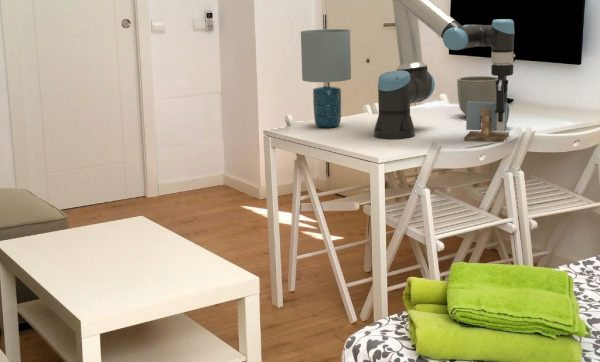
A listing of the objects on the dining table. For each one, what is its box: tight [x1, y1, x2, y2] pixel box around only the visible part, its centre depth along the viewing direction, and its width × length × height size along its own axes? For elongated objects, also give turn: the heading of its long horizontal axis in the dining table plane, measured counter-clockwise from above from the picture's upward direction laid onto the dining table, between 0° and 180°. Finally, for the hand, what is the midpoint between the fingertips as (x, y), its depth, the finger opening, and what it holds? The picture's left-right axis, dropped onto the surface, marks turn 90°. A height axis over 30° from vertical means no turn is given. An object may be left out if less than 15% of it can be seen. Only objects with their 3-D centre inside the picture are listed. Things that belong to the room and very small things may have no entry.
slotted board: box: [465, 101, 508, 132], centre depth 320 cm, size 14×2×10 cm, turn 70°
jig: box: [464, 108, 510, 143], centre depth 320 cm, size 14×13×11 cm
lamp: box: [300, 28, 352, 129], centre depth 352 cm, size 19×19×38 cm
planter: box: [456, 75, 498, 116], centre depth 364 cm, size 17×17×16 cm
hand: (501, 129), depth 319 cm, fingers closed on slotted board, 2 cm apart
